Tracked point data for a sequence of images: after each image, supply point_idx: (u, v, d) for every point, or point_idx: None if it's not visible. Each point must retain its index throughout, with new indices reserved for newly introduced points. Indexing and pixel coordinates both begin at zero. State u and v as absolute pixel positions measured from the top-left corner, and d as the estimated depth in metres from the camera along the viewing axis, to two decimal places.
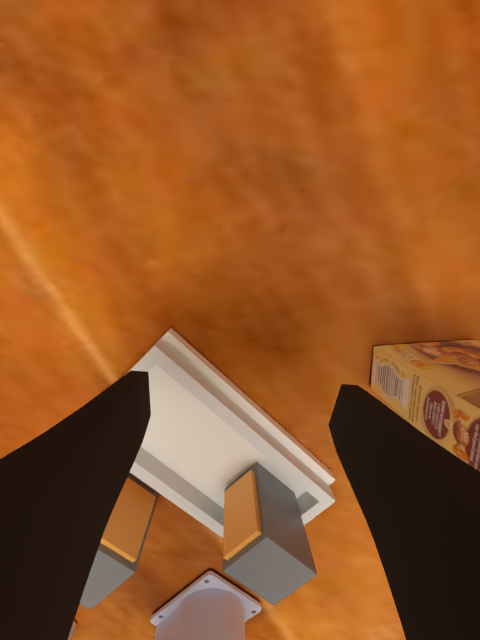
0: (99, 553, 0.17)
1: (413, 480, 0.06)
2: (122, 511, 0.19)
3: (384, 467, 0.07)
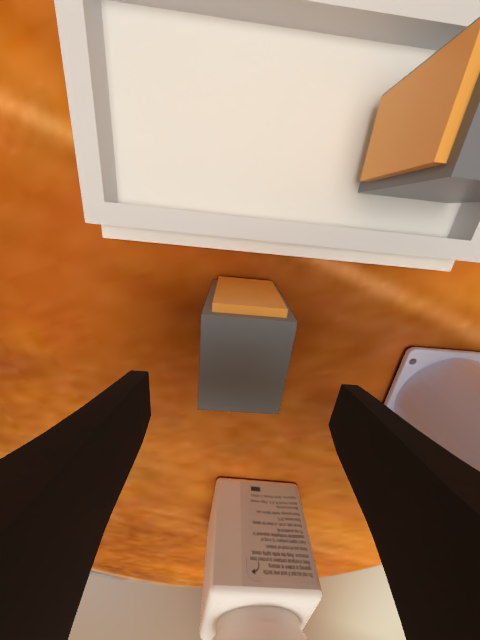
0: (226, 320, 0.10)
1: (413, 480, 0.06)
2: (231, 289, 0.12)
3: (384, 467, 0.07)
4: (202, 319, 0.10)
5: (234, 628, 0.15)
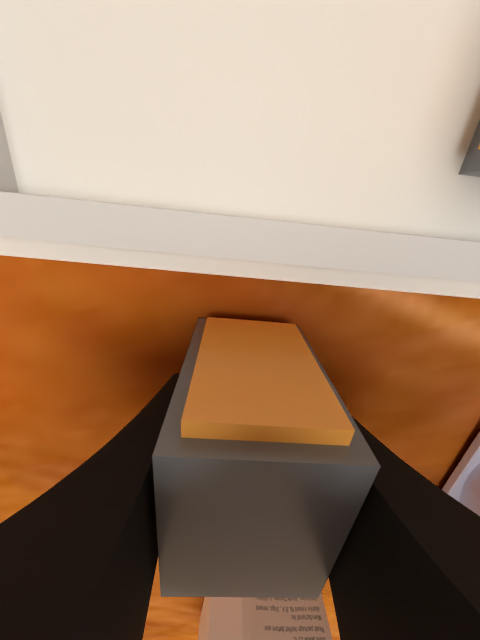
0: (214, 466, 0.04)
1: None
2: (227, 357, 0.06)
3: None
4: (156, 464, 0.04)
5: None
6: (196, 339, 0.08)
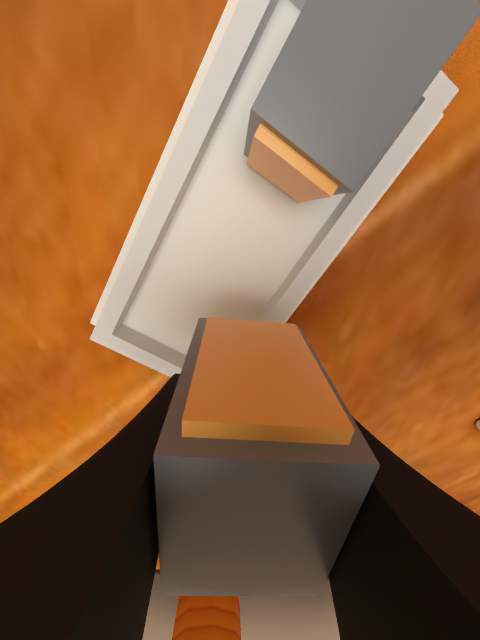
0: (215, 465, 0.04)
1: None
2: (227, 357, 0.06)
3: None
4: (157, 463, 0.04)
5: None
6: (196, 339, 0.08)
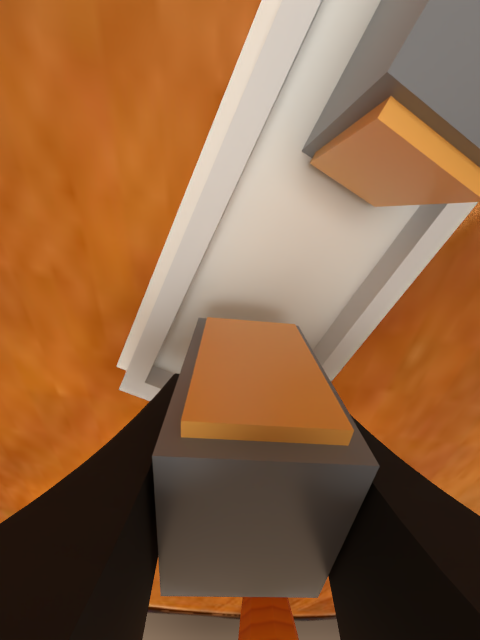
0: (214, 466, 0.04)
1: None
2: (226, 357, 0.06)
3: None
4: (156, 464, 0.04)
5: None
6: (196, 339, 0.08)
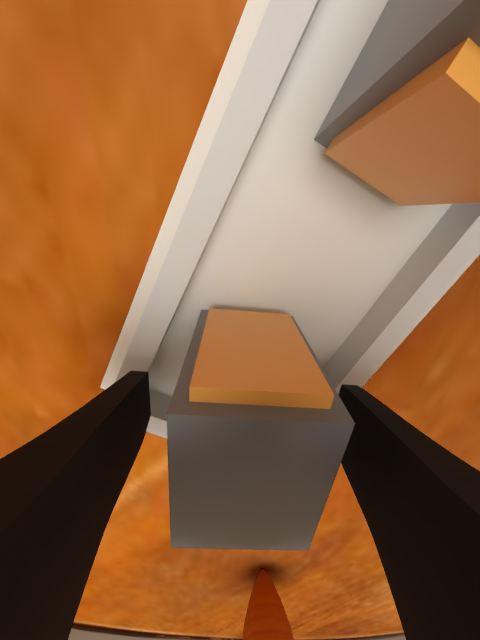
0: (217, 423, 0.05)
1: (413, 480, 0.06)
2: (227, 340, 0.07)
3: (384, 467, 0.07)
4: (169, 421, 0.05)
5: None
6: (200, 327, 0.09)
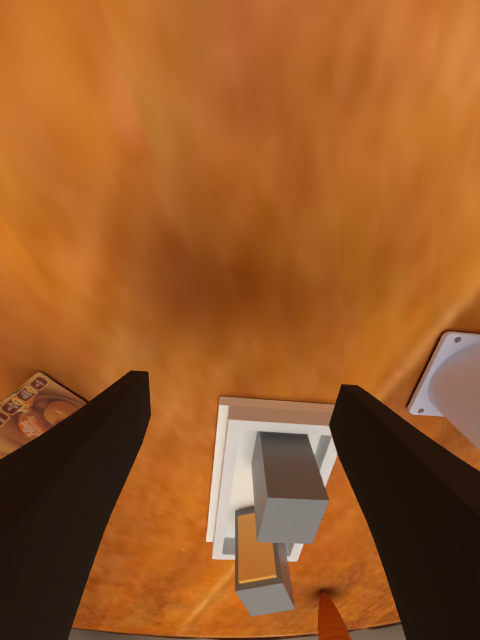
0: (248, 590, 0.20)
1: (413, 480, 0.06)
2: (246, 547, 0.22)
3: (384, 467, 0.07)
4: (236, 592, 0.20)
5: None
6: (236, 530, 0.24)
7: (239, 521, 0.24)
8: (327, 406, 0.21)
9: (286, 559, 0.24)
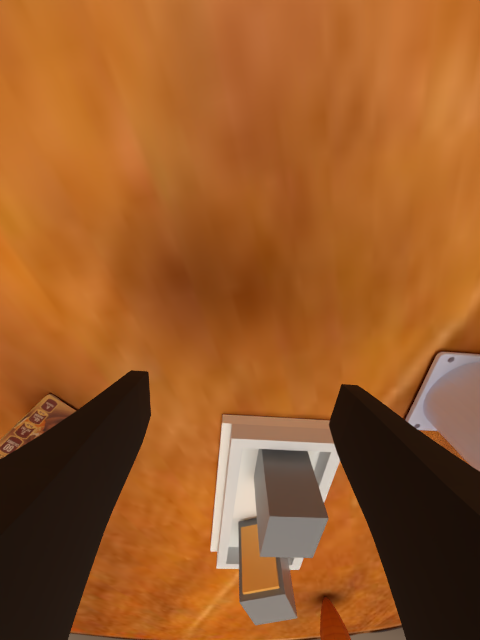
0: (252, 601, 0.21)
1: (413, 480, 0.06)
2: (249, 558, 0.23)
3: (384, 467, 0.07)
4: (240, 603, 0.21)
5: None
6: (240, 541, 0.25)
7: (242, 532, 0.25)
8: (326, 422, 0.22)
9: (288, 569, 0.25)
